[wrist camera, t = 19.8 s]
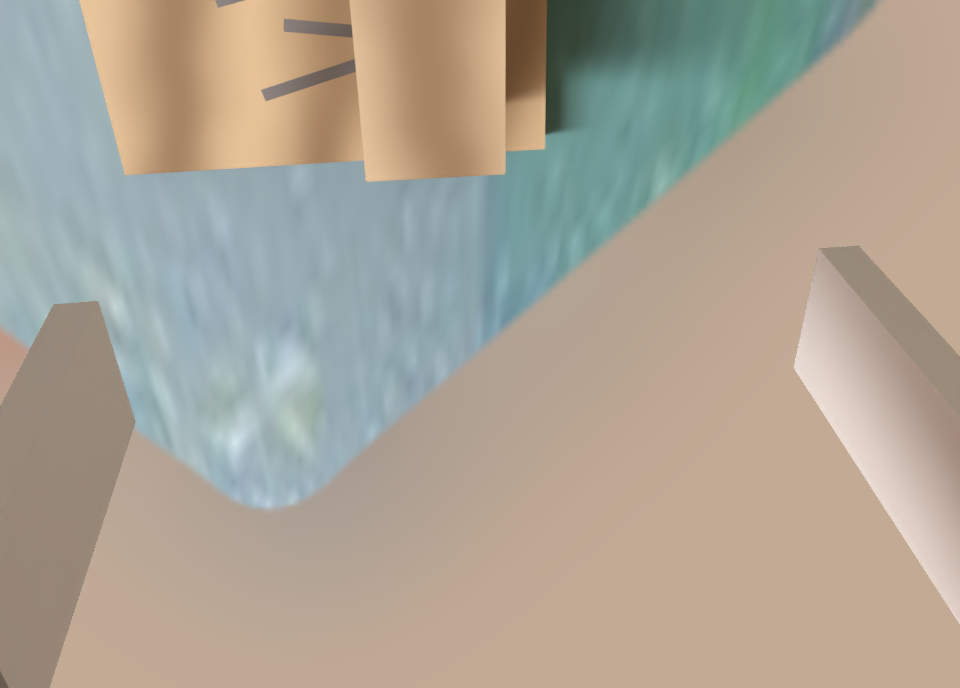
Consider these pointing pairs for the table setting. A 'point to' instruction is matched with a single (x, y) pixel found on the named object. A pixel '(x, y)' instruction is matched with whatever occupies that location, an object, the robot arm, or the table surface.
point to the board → (264, 81)
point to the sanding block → (430, 87)
